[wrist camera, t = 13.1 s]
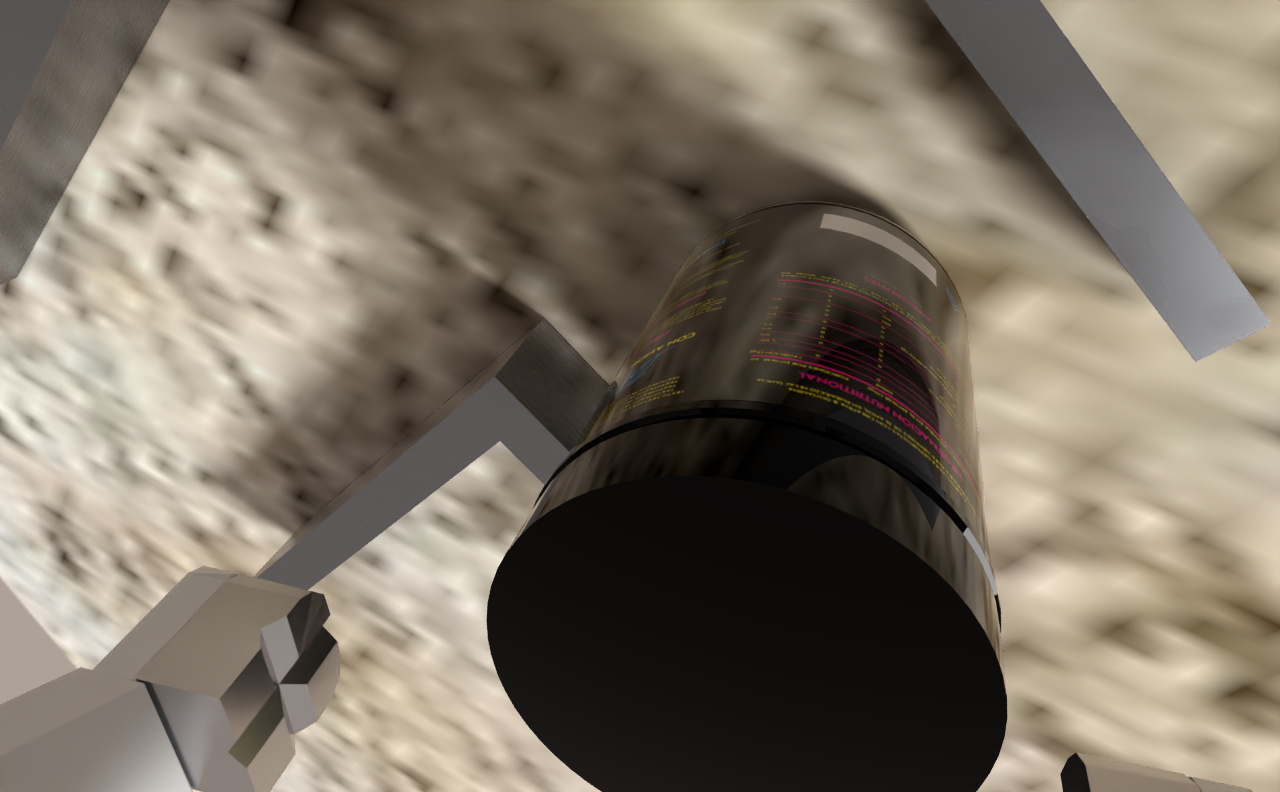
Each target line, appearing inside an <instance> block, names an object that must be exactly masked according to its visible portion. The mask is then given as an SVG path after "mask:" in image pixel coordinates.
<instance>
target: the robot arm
mask: <svg viewBox="0 0 1280 792" xmlns="http://www.w3.org/2000/svg"><path fill="white" fill-rule="evenodd" d="M329 616H330V612H329V609H328V606H327V603H326V599H325V596H324V594H320V593H316V592H312V591H308V590H304V589H300V588H296V587H292V586H288V585H284V584H280V583H275V582H271V581H267V580H263V579H259V578H255V577H251V576H247V575H243V574H238V573H234V572H229V571H225V570H220V569H216V568H211V567H207V566H203V567H200V568H198V569H196V570H194V571H191V572H189V573H188V574H187V575H186V576H185V577H184V578H183V579H182V580H181V581H180V582H179V583H178V584H177V585H176V586H175V587H174V588H173V589H172V590H171V591H170V592H169V593H168V594H167V595H166V596H165V597H164V598H163V599H162V600H161V601H160V602H159V603H158V604H157V605H156V606H155V607H154V608H153V609H152V610H151V611H150V612H149V613H148V614H147V615H146V616H145V617H144V618H143V619H142V620H141V621H140V622H139V623H138V624H137V625H136V626H135V627H134V628H133V629H132V630H131V631H130V632H129V633H128V634H127V635H126V636H125V637H124V638H123V639H122V640H121V641H120V642H119V643H118V644H117V645H116V646H115V647H114V648H113V650H112V651H111V652H110V653H109V654H108V655H107V656H106V657H105V658H104V659H103V660H102V661H101V662H100V663H99V664H98V665H97V666H96V667H95V668H94V669H93V670H91V669H86V668H82V667H81V668H79V669H77V670H74V671H72V672H70V673H68V674H66V675H64V676H61V677H59V678H57V679H55V680H53V681H51V682H48V683H46V684H44V685H42V686H40V687H38V688H36V689H33V690H31V691H29V692H27V693H25V694H22V695H20V696H18V697H16V698H14V699H12V700H10V701H7V702H5V703H3V704H1V705H0V792H193V791H192V789H194V790H198V791H202V792H270V791H271V789H272V788H273V786H274V785H275V783H276V782H277V780H278V779H279V778H280V776H281V775H282V773H283V772H284V770H285V769H286V767H287V766H288V764H289V763H290V761H291V760H292V758H293V757H294V755H295V734H296V733H298V732H299V731H301V730H303V729H305V728H306V727H308V726H310V725H311V724H313V723H315V722H317V721H318V719H319V718H320V716H321V715H322V713H323V712H324V710H325V708H326V707H327V705H328V704H329V702H330V701H331V699H332V696H333V693H334V690H335V687H336V684H337V681H338V679H339V676H340V661H341V655H340V651H339V647H338V643H337V641H336V640H335V639H334V638H333V636H332V635H331V634H330V633H329V632H328V631H327V630H326V629H325V628H324V627H323V624H324V623H325V621H326V620H327V619H328V617H329ZM1061 781H1062V787H1063V792H1252V790H1250V789H1246V788H1242V787H1237V786H1233V785H1228V784H1223V783H1218V782H1214V781H1209V780H1204V779H1199V778H1195V777H1187V776H1185V775H1184V774H1181V773H1176V772H1171V771H1166V770H1161V769H1156V768H1151V767H1146V766H1141V765H1136V764H1131V763H1126V762H1121V761H1116V760H1111V759H1106V758H1101V757H1096V756H1091V755H1086V754H1081V753H1075V754H1073V755H1072V756H1071V757H1069V758H1068V760H1067V762H1066V764H1065V766H1064V768H1063V770H1062V772H1061Z"/></svg>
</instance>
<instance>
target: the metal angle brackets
mask: <svg viewBox="0 0 1280 792" xmlns="http://www.w3.org/2000/svg"><path fill="white" fill-rule="evenodd" d="M169 1H170V0H1V2H0V285H1V284H3V283H5V282H7V281H10V280H12V279H14V278H16V277H17V276H18V274H19V272H20V271H21V269H22V267H23V265H24V263H25V261H26V260H27V258H28V256H29V254H30V252H31V251H32V249H33V247H34V245H35V243H36V242H37V240H38V238H39V236H40V234H41V232H42V231H43V229H44V227H45V225H46V223H47V222H48V220H49V218H50V216H51V214H52V213H53V211H54V209H55V207H56V205H57V204H58V202H59V200H60V198H61V196H62V194H63V193H64V191H65V189H66V187H67V185H68V184H69V182H70V180H71V178H72V176H73V175H74V173H75V171H76V169H77V167H78V165H79V164H80V162H81V160H82V158H83V156H84V155H85V153H86V151H87V149H88V147H89V146H90V144H91V142H92V140H93V138H94V136H95V135H96V133H97V131H98V129H99V127H100V126H101V124H102V122H103V120H104V118H105V117H106V115H107V113H108V111H109V109H110V107H111V106H112V104H113V102H114V100H115V98H116V97H117V95H118V93H119V91H120V89H121V88H122V86H123V84H124V82H125V80H126V78H127V77H128V75H129V73H130V71H131V69H132V68H133V66H134V64H135V62H136V60H137V59H138V57H139V55H140V53H141V51H142V49H143V48H144V46H145V44H146V42H147V40H148V39H149V37H150V35H151V33H152V31H153V30H154V28H155V26H156V24H157V22H158V20H159V19H160V17H161V15H162V13H163V11H164V10H165V8H166V6H167V4H168V2H169ZM925 2H926V3H927V4H928V6H929V7H930V8H931V10H932V11H933V12H934V14H935V15H936V16H937V18H938V19H939V20H940V22H941V23H942V24H943V26H944V27H945V28H946V30H947V31H948V32H949V34H950V35H951V36H952V38H953V39H954V40H955V42H956V43H957V44H958V46H959V47H960V48H961V50H962V51H963V52H964V54H965V55H966V56H967V58H968V59H969V60H970V62H971V63H972V64H973V66H974V67H975V68H976V70H977V71H978V72H979V74H980V75H981V76H982V78H983V79H984V80H985V82H986V83H987V84H988V86H989V87H990V88H991V90H992V91H993V92H994V94H995V95H996V96H997V98H998V99H999V100H1000V102H1001V103H1002V104H1003V106H1004V107H1005V108H1006V110H1007V111H1008V112H1009V114H1010V115H1011V116H1012V118H1013V119H1014V120H1015V122H1016V123H1017V124H1018V126H1019V127H1020V128H1021V130H1022V131H1023V132H1024V134H1025V135H1026V136H1027V138H1028V139H1029V140H1030V142H1031V143H1032V144H1033V146H1034V147H1035V148H1036V150H1037V151H1038V152H1039V154H1040V155H1041V156H1042V158H1043V159H1044V160H1045V162H1046V163H1047V164H1048V166H1049V167H1050V168H1051V170H1052V171H1053V172H1054V174H1055V175H1056V176H1057V178H1058V179H1059V180H1060V182H1061V183H1062V184H1063V186H1064V187H1065V188H1066V190H1067V191H1068V192H1069V194H1070V195H1071V196H1072V198H1073V199H1074V200H1075V202H1076V203H1077V204H1078V206H1079V207H1080V208H1081V210H1082V211H1083V212H1084V214H1085V215H1086V216H1087V218H1088V219H1089V220H1090V222H1091V223H1092V224H1093V226H1094V227H1095V228H1096V230H1097V231H1098V232H1099V234H1100V235H1101V237H1102V238H1103V239H1104V241H1105V242H1106V243H1107V245H1108V246H1109V247H1110V249H1111V250H1112V251H1113V253H1114V254H1115V255H1116V257H1117V258H1118V259H1119V261H1120V262H1121V263H1122V265H1123V266H1124V267H1125V269H1126V270H1127V271H1128V273H1129V274H1130V275H1131V277H1132V278H1133V279H1134V281H1135V282H1136V283H1137V285H1138V286H1139V287H1140V289H1141V290H1142V291H1143V293H1144V294H1145V295H1146V297H1147V298H1148V299H1149V301H1150V302H1151V303H1152V305H1153V306H1154V307H1155V309H1156V310H1157V311H1158V313H1159V314H1160V315H1161V317H1162V318H1163V319H1164V321H1165V322H1166V323H1167V325H1168V326H1169V327H1170V329H1171V330H1172V331H1173V333H1174V334H1175V335H1176V337H1177V338H1178V339H1179V341H1180V342H1181V343H1182V345H1183V346H1184V347H1185V349H1186V350H1187V351H1188V353H1189V354H1190V355H1191V357H1192V358H1193V359H1194V361H1195V362H1196V361H1198V360H1200V359H1202V358H1204V357H1206V356H1208V355H1210V354H1212V353H1214V352H1216V351H1218V350H1220V349H1222V348H1224V347H1226V346H1228V345H1230V344H1232V343H1234V342H1236V341H1238V340H1240V339H1242V338H1244V337H1246V336H1248V335H1250V334H1252V333H1254V332H1256V331H1258V330H1260V329H1262V328H1264V327H1266V326H1268V325H1270V324H1271V323H1270V322H1269V320H1268V319H1267V318H1266V316H1265V315H1264V313H1263V312H1262V311H1261V309H1260V308H1259V306H1258V305H1257V304H1256V302H1255V301H1254V299H1253V298H1252V297H1251V295H1250V294H1249V292H1248V291H1247V290H1246V288H1245V287H1244V285H1243V284H1242V283H1241V281H1240V280H1239V278H1238V277H1237V276H1236V274H1235V273H1234V271H1233V270H1232V269H1231V267H1230V266H1229V264H1228V263H1227V262H1226V260H1225V259H1224V257H1223V256H1222V255H1221V253H1220V252H1219V250H1218V249H1217V248H1216V246H1215V245H1214V243H1213V242H1212V241H1211V239H1210V238H1209V236H1208V235H1207V234H1206V232H1205V231H1204V229H1203V228H1202V227H1201V225H1200V224H1199V222H1198V221H1197V220H1196V218H1195V217H1194V215H1193V214H1192V213H1191V211H1190V210H1189V208H1188V207H1187V206H1186V204H1185V203H1184V201H1183V200H1182V199H1181V197H1180V196H1179V194H1178V193H1177V192H1176V190H1175V189H1174V187H1173V186H1172V185H1171V183H1170V182H1169V180H1168V179H1167V178H1166V176H1165V175H1164V173H1163V172H1162V171H1161V169H1160V168H1159V166H1158V165H1157V164H1156V162H1155V161H1154V159H1153V158H1152V157H1151V155H1150V154H1149V152H1148V151H1147V150H1146V148H1145V147H1144V145H1143V144H1142V143H1141V141H1140V140H1139V138H1138V137H1137V136H1136V134H1135V133H1134V131H1133V130H1132V129H1131V127H1130V126H1129V124H1128V123H1127V122H1126V120H1125V119H1124V117H1123V116H1122V115H1121V113H1120V112H1119V110H1118V109H1117V108H1116V106H1115V105H1114V103H1113V102H1112V101H1111V99H1110V98H1109V96H1108V95H1107V94H1106V92H1105V91H1104V89H1103V88H1102V87H1101V85H1100V84H1099V82H1098V81H1097V80H1096V78H1095V77H1094V75H1093V74H1092V73H1091V71H1090V70H1089V68H1088V67H1087V66H1086V64H1085V63H1084V61H1083V60H1082V59H1081V57H1080V56H1079V54H1078V53H1077V52H1076V50H1075V49H1074V47H1073V46H1072V45H1071V43H1070V42H1069V40H1068V39H1067V38H1066V36H1065V35H1064V33H1063V32H1062V31H1061V29H1060V28H1059V26H1058V25H1057V24H1056V22H1055V21H1054V19H1053V18H1052V17H1051V15H1050V14H1049V12H1048V11H1047V10H1046V8H1045V7H1044V5H1043V4H1042V3H1041V1H1040V0H925ZM608 388H609V386H608V385H607V384H606V382H605V381H604V380H603V379H602V378H601V377H600V376H599V375H598V374H597V373H596V372H595V371H594V370H593V369H592V368H591V367H590V366H589V365H588V364H587V363H586V362H585V361H584V359H583V358H582V357H581V356H580V355H579V354H578V353H577V352H576V351H575V350H574V349H573V348H572V347H571V346H570V345H569V344H568V343H567V342H566V341H565V340H564V339H563V338H562V336H561V335H560V334H559V333H558V332H557V331H556V330H555V329H554V328H553V327H552V326H551V325H550V324H549V323H548V322H547V321H546V320H545V319H544V318H543V319H542V320H541V321H539V322H538V323H537V324H536V325H535V326H534V327H533V328H531V329H530V330H529V331H528V332H527V333H526V334H524V335H523V336H522V337H521V338H520V339H519V340H517V341H516V342H515V343H514V344H513V345H512V346H510V347H509V348H508V349H507V350H506V351H505V352H503V353H502V354H501V355H500V356H499V357H498V358H497V359H495V360H494V361H493V362H492V363H491V364H490V365H488V366H487V367H486V368H485V369H484V370H483V371H481V372H480V373H479V374H478V375H477V376H476V377H474V378H473V379H472V380H471V381H470V382H469V383H467V384H466V385H465V386H464V387H463V388H462V389H461V390H459V391H458V392H457V393H456V394H455V395H454V396H452V397H451V398H450V399H449V400H448V401H447V402H445V403H444V404H443V405H442V406H441V407H440V408H438V409H437V410H436V411H435V412H434V413H433V414H432V415H430V416H429V417H428V418H427V419H426V420H425V421H423V422H422V423H421V424H420V425H419V426H418V427H416V428H415V429H414V430H413V431H412V432H411V433H409V434H408V435H407V436H406V437H405V438H404V439H402V440H401V441H400V442H399V443H398V444H397V445H396V446H394V447H393V448H392V449H391V450H390V451H389V452H387V453H386V454H385V455H384V456H383V457H382V458H380V459H379V460H378V461H377V462H376V463H375V464H373V465H372V466H371V467H370V468H369V469H368V470H367V471H365V472H364V473H363V474H362V475H361V476H360V477H358V478H357V479H356V480H355V481H354V482H353V483H351V484H350V485H349V486H348V487H347V488H346V489H344V490H343V491H342V492H341V493H340V494H339V495H337V496H336V497H335V498H334V499H333V500H332V501H331V502H329V503H328V504H327V505H326V506H325V507H324V508H322V509H321V510H320V511H319V512H318V513H317V514H315V515H314V516H313V517H312V518H311V519H310V520H308V521H307V522H306V523H305V524H304V525H303V526H302V527H300V528H299V529H298V530H297V531H296V532H295V533H294V534H293V535H292V537H291V538H290V539H289V540H288V541H287V542H286V543H285V544H284V545H283V546H282V547H281V548H280V549H279V550H278V551H277V552H276V554H275V555H274V556H273V557H272V558H271V559H270V560H269V561H268V562H267V563H266V564H265V565H264V566H263V567H262V568H261V569H260V571H259V572H258V573H257V574H256V575H255V576H254V577H255V578H259V579H263V580H267V581H271V582H275V583H280V584H284V585H288V586H292V587H296V588H300V589H304V590H308V589H310V588H311V587H312V586H314V585H315V584H316V583H317V582H319V581H320V580H321V579H323V578H324V577H325V576H326V575H328V574H329V573H330V572H332V571H333V570H334V569H335V568H337V567H338V566H339V565H341V564H342V563H343V562H344V561H346V560H347V559H348V558H350V557H351V556H352V555H354V554H355V553H356V552H357V551H359V550H360V549H361V548H363V547H364V546H365V545H366V544H368V543H369V542H370V541H372V540H373V539H374V538H375V537H377V536H378V535H379V534H381V533H382V532H383V531H384V530H386V529H387V528H388V527H390V526H391V525H392V524H393V523H395V522H396V521H397V520H399V519H400V518H401V517H402V516H404V515H405V514H406V513H408V512H409V511H410V510H411V509H413V508H414V507H415V506H417V505H418V504H419V503H420V502H422V501H423V500H424V499H426V498H427V497H428V496H429V495H431V494H432V493H433V492H435V491H436V490H437V489H438V488H440V487H441V486H442V485H444V484H445V483H446V482H448V481H449V480H450V479H451V478H453V477H454V476H455V475H457V474H458V473H459V472H460V471H462V470H463V469H464V468H466V467H467V466H468V465H469V464H471V463H472V462H473V461H475V460H476V459H477V458H478V457H480V456H481V455H482V454H484V453H485V452H486V451H487V450H489V449H490V448H491V447H493V446H494V445H495V444H496V443H498V442H499V441H501V442H502V443H503V444H504V445H505V446H506V447H507V448H508V449H509V450H510V451H511V452H512V453H513V454H514V455H515V456H516V457H517V458H518V459H519V460H520V461H521V462H522V463H523V464H524V465H525V466H526V467H527V468H528V469H529V470H530V471H531V472H532V473H533V474H534V475H535V476H536V477H537V478H538V479H539V480H540V481H541V482H542V483H543V484H544V485H545V484H546V482H547V481H548V479H549V478H550V476H551V475H552V474H553V472H554V471H555V470H556V468H557V467H558V466H559V464H560V463H561V462H562V461H563V460H564V459H565V458H566V457H567V456H568V454H569V453H570V451H571V449H572V448H573V446H574V444H575V443H576V441H577V439H578V438H579V436H580V434H581V433H582V431H583V429H584V428H585V426H586V424H587V423H588V421H589V419H590V418H591V416H592V414H593V413H594V411H595V409H596V408H597V406H598V405H599V403H600V401H601V400H602V398H603V396H604V395H605V393H606V391H607V390H608Z"/></svg>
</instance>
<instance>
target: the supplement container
mask: <svg viewBox="0 0 1280 792" xmlns="http://www.w3.org/2000/svg"><path fill="white" fill-rule="evenodd" d="M487 632H488V641H489V646H490V651H491V656H492V659H493V662H494V665H495V668H496V671H497V674H498V676H499V678H500V681H501V683H502V685H503V687H504V689H505V691H506V693H507V695H508V697H509V698H510V700H511V702H512V704H513V705H514V707H515V709H516V710H517V711H518V713H519V714H520V716H521V717H522V718H523V720H524V721H525V723H526V724H527V725H528V726H529V728H530V729H531V730H532V731H533V732H534V734H535V735H536V736H537V737H538V738H539V740H540V741H541V742H542V743H543V744H544V745H545V746H546V747H547V748H548V749H549V750H550V751H551V752H552V753H553V754H554V755H555V756H556V757H557V758H559V759H560V760H561V761H562V762H563V763H564V764H565V765H566V766H568V767H569V768H570V769H571V770H572V771H574V772H575V773H576V774H578V775H579V776H580V777H582V778H583V779H584V780H585V781H587V782H588V783H590V784H591V785H593V786H594V787H595V788H597V789H598V790H600V791H601V792H976V791H977V790H978V789H979V788H980V786H981V785H982V783H983V782H984V781H985V779H986V778H987V776H988V775H989V774H990V772H991V770H992V768H993V766H994V764H995V762H996V760H997V758H998V756H999V753H1000V750H1001V747H1002V743H1003V740H1004V737H1005V730H1006V723H1007V693H1006V683H1005V673H1004V664H1003V654H1002V644H1001V608H1000V599H999V593H998V587H997V582H996V577H995V574H994V571H993V568H992V565H991V560H990V549H989V539H988V529H987V519H986V509H985V498H984V488H983V478H982V468H981V458H980V447H979V437H978V427H977V417H976V406H975V396H974V386H973V376H972V366H971V355H970V345H969V335H968V326H967V320H966V314H965V311H964V307H963V304H962V300H961V298H960V295H959V293H958V291H957V288H956V286H955V284H954V282H953V281H952V279H951V277H950V275H949V274H948V272H947V270H946V269H945V268H944V266H943V265H942V264H941V262H940V261H939V260H938V258H937V257H936V256H935V255H934V254H933V253H932V252H931V251H930V250H929V249H928V248H927V247H926V246H925V245H924V244H923V243H922V242H921V241H920V240H918V239H917V238H916V237H915V236H914V235H912V234H911V233H909V232H908V231H906V230H905V229H904V228H902V227H901V226H899V225H897V224H895V223H894V222H892V221H890V220H888V219H886V218H884V217H882V216H880V215H877V214H875V213H872V212H870V211H867V210H864V209H861V208H857V207H854V206H850V205H845V204H840V203H835V202H825V201H795V202H785V203H780V204H775V205H770V206H766V207H763V208H760V209H756V210H753V211H751V212H748V213H746V214H744V215H741V216H739V217H737V218H735V219H733V220H731V221H730V222H728V223H726V224H724V225H723V226H721V227H720V228H719V229H717V230H716V231H714V232H713V233H711V234H710V235H709V236H708V237H707V238H706V239H705V240H703V241H702V242H701V243H700V244H699V245H698V246H697V247H696V249H695V250H694V251H693V252H692V253H691V254H690V255H689V257H688V258H687V260H686V261H685V262H684V264H683V265H682V267H681V268H680V270H679V272H678V273H677V275H676V277H675V278H674V280H673V281H672V283H671V285H670V286H669V288H668V290H667V291H666V293H665V295H664V296H663V298H662V300H661V301H660V303H659V305H658V306H657V308H656V310H655V311H654V313H653V315H652V316H651V318H650V320H649V321H648V323H647V325H646V326H645V328H644V330H643V331H642V333H641V335H640V336H639V338H638V340H637V341H636V343H635V345H634V346H633V348H632V350H631V351H630V353H629V355H628V356H627V358H626V360H625V361H624V363H623V365H622V366H621V368H620V370H619V371H618V373H617V375H616V376H615V378H614V380H613V381H612V383H611V385H610V386H609V388H608V390H607V391H606V393H605V395H604V396H603V398H602V400H601V401H600V403H599V405H598V406H597V408H596V409H595V411H594V413H593V414H592V416H591V418H590V419H589V421H588V423H587V424H586V426H585V428H584V429H583V431H582V433H581V434H580V436H579V438H578V439H577V441H576V443H575V444H574V446H573V448H572V449H571V451H570V453H569V454H568V456H567V457H566V458H565V459H564V460H563V461H562V462H561V463H560V464H559V466H558V467H557V468H556V470H555V471H554V472H553V474H552V475H551V476H550V478H549V479H548V481H547V482H546V484H545V486H544V487H543V489H542V491H541V493H540V495H539V496H538V498H537V500H536V502H535V505H534V507H533V510H532V511H531V513H530V515H529V516H528V518H527V520H526V521H525V523H524V525H523V526H522V528H521V530H520V531H519V533H518V534H517V536H516V538H515V539H514V541H513V543H512V544H511V546H510V548H509V549H508V551H507V553H506V554H505V556H504V558H503V560H502V562H501V563H500V565H499V567H498V569H497V572H496V574H495V577H494V580H493V582H492V585H491V589H490V594H489V599H488V606H487Z"/></svg>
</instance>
